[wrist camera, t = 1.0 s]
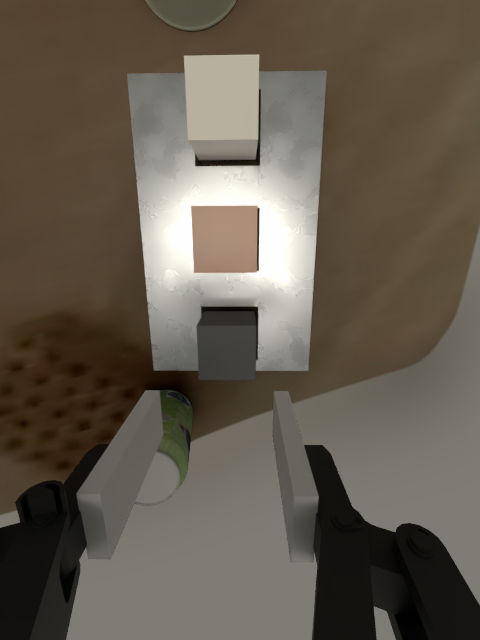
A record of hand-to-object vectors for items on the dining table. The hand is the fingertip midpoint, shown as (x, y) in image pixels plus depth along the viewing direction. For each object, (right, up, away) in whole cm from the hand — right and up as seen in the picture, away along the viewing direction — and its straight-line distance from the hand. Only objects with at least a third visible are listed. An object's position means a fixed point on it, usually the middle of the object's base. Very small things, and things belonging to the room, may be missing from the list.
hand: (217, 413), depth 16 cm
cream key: (0, +21, +8) cm, 23 cm away
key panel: (0, +13, +14) cm, 19 cm away
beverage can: (-7, -5, +19) cm, 21 cm away
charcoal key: (0, +4, +13) cm, 14 cm away
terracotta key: (0, +12, +11) cm, 16 cm away
